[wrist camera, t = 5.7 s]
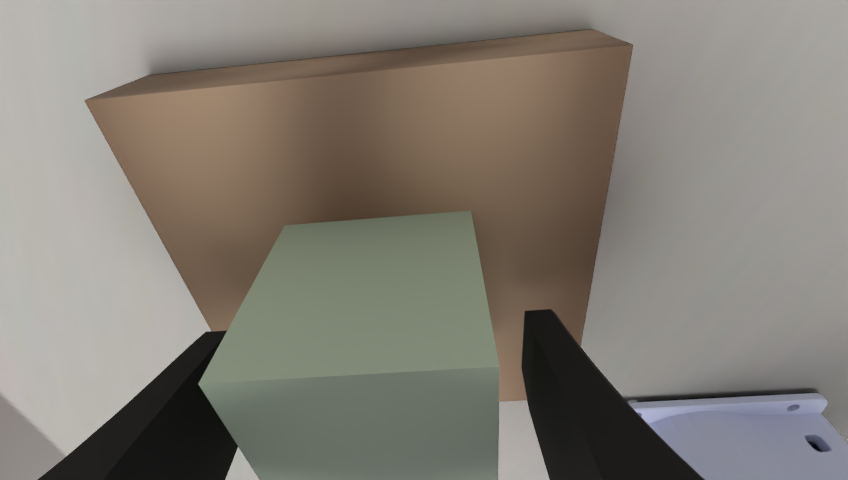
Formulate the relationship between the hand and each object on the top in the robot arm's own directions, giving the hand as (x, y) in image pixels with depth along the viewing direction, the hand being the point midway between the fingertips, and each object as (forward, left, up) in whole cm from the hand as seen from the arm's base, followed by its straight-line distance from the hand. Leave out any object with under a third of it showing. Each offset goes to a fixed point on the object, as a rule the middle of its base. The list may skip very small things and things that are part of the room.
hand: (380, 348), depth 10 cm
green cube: (0, 0, -2) cm, 2 cm away
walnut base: (0, 0, -5) cm, 5 cm away
